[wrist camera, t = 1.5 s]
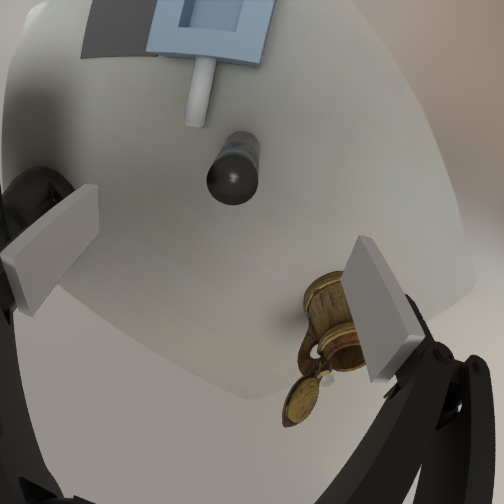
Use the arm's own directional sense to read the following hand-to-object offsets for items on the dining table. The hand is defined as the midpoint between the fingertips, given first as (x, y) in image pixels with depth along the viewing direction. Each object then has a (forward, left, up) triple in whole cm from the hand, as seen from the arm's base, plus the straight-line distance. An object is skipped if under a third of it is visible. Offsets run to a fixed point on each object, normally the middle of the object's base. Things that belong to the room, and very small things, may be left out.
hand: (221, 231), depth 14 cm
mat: (-16, +14, -19) cm, 29 cm away
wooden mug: (+15, -19, -20) cm, 31 cm away
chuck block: (-5, +11, -19) cm, 23 cm away
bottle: (0, 0, -19) cm, 19 cm away
